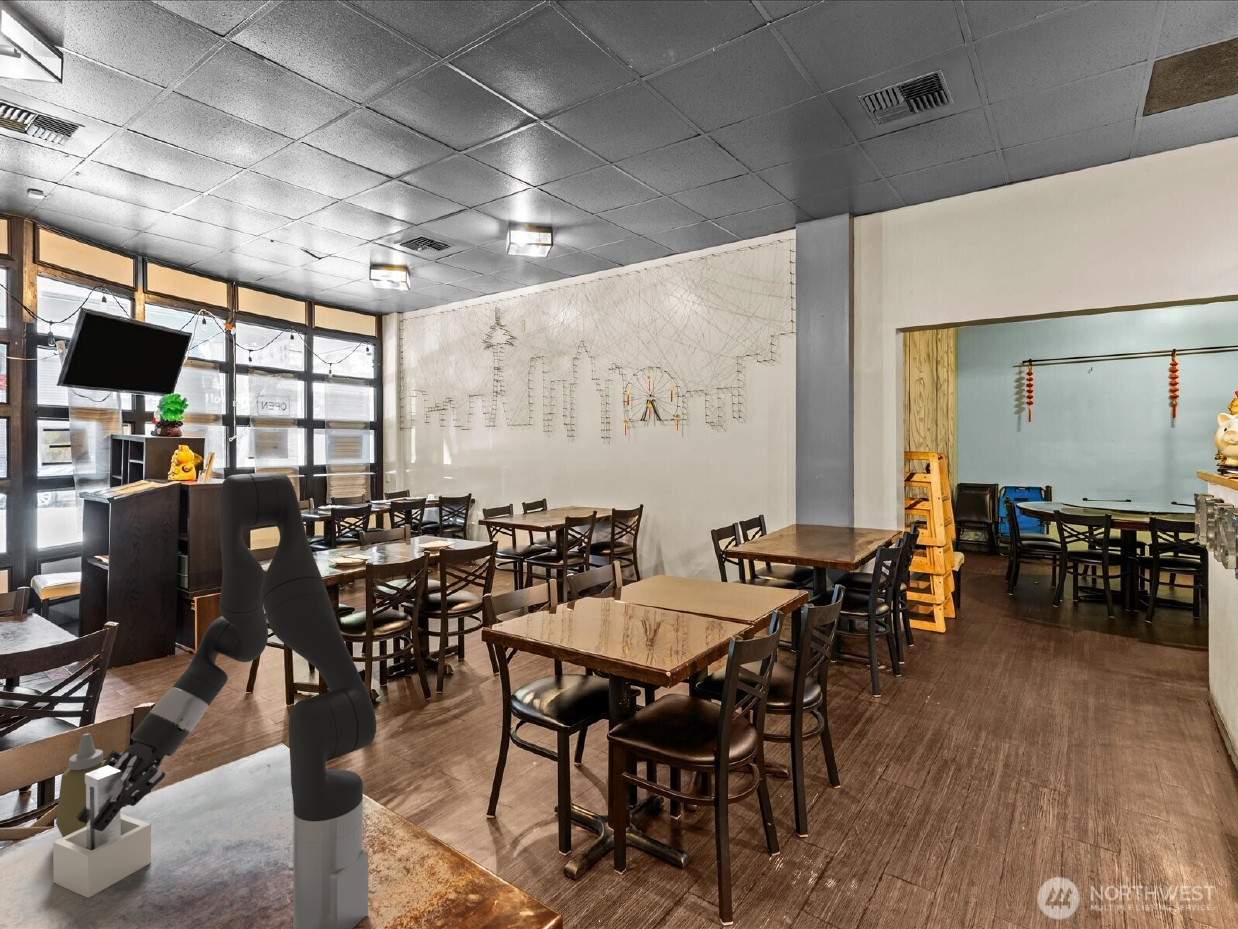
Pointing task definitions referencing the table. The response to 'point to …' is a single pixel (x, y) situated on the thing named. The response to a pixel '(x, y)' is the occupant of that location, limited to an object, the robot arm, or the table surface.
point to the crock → (101, 858)
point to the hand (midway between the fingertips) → (89, 825)
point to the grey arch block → (101, 804)
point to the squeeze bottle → (76, 785)
